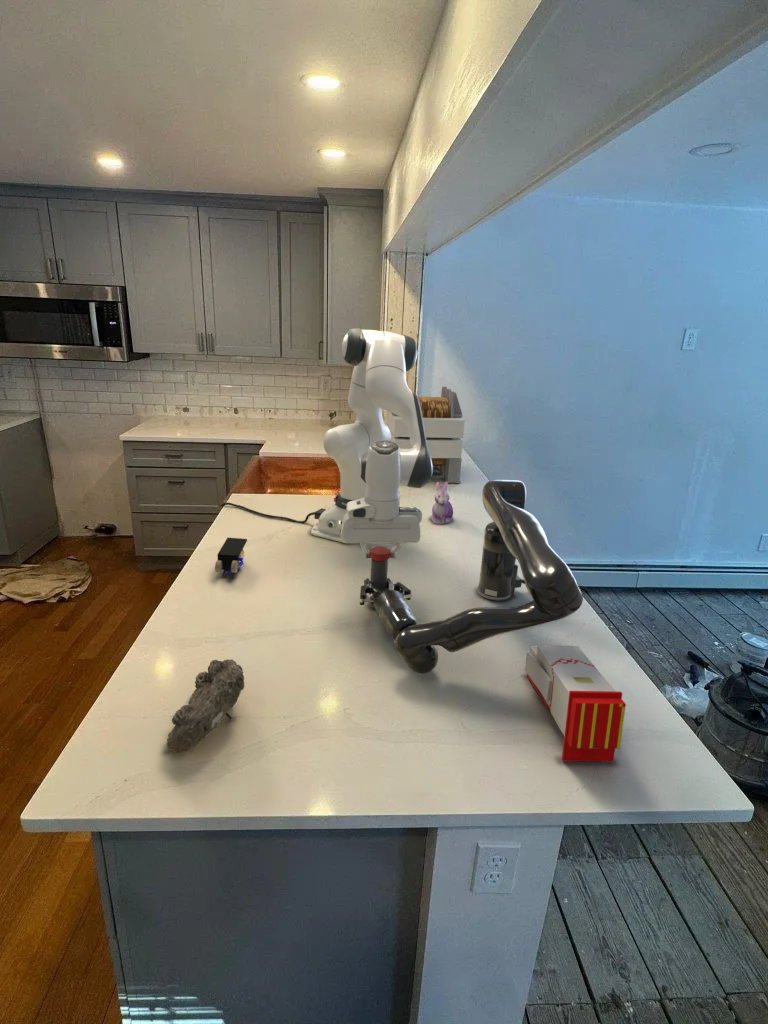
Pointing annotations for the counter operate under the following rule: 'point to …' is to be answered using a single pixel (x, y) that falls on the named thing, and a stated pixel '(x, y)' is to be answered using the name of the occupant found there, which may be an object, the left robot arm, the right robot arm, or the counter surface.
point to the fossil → (206, 705)
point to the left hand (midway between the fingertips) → (379, 557)
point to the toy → (578, 701)
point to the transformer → (436, 432)
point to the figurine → (442, 505)
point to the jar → (378, 575)
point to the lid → (379, 553)
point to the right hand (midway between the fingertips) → (375, 580)
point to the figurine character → (230, 556)
